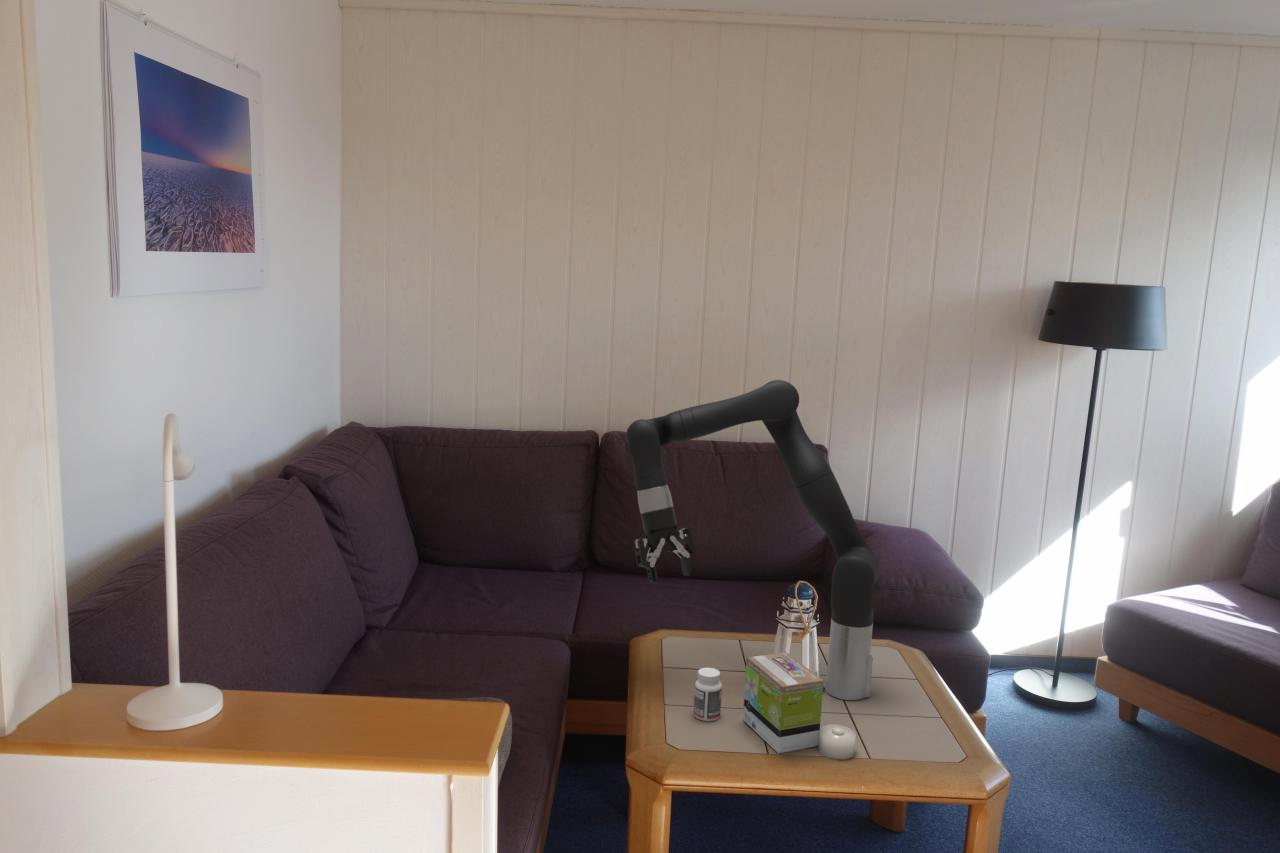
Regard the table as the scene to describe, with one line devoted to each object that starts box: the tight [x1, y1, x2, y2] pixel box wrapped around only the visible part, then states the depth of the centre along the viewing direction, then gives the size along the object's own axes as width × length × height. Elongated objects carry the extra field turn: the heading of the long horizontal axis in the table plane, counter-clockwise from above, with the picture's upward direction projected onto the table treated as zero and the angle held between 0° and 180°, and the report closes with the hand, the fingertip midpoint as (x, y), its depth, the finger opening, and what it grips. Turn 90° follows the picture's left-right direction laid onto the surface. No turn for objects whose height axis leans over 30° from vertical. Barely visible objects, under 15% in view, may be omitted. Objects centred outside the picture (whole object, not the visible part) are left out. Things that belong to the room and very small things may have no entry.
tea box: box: [742, 651, 824, 754], centre depth 204 cm, size 15×10×15 cm
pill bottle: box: [693, 667, 723, 722], centre depth 210 cm, size 6×6×10 cm
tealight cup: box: [818, 724, 857, 761], centre depth 198 cm, size 7×7×5 cm
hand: (671, 579), depth 220 cm, fingers open, 8 cm apart
